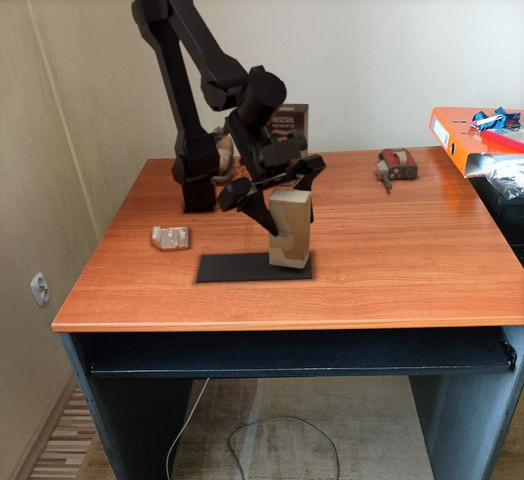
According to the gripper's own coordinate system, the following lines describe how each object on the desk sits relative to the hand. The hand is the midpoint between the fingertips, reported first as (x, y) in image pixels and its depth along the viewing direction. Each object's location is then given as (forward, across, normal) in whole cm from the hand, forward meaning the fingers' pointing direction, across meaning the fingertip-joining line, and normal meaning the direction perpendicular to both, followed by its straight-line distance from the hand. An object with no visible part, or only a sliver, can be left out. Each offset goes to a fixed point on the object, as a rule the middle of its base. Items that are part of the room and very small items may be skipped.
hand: (294, 229), depth 85 cm
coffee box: (-17, +22, +29) cm, 41 cm away
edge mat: (+2, -5, +10) cm, 11 cm away
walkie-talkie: (-7, +43, +19) cm, 47 cm away
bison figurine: (-26, +12, +38) cm, 48 cm away
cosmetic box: (+4, 0, +6) cm, 7 cm away
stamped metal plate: (-11, -12, +23) cm, 29 cm away
